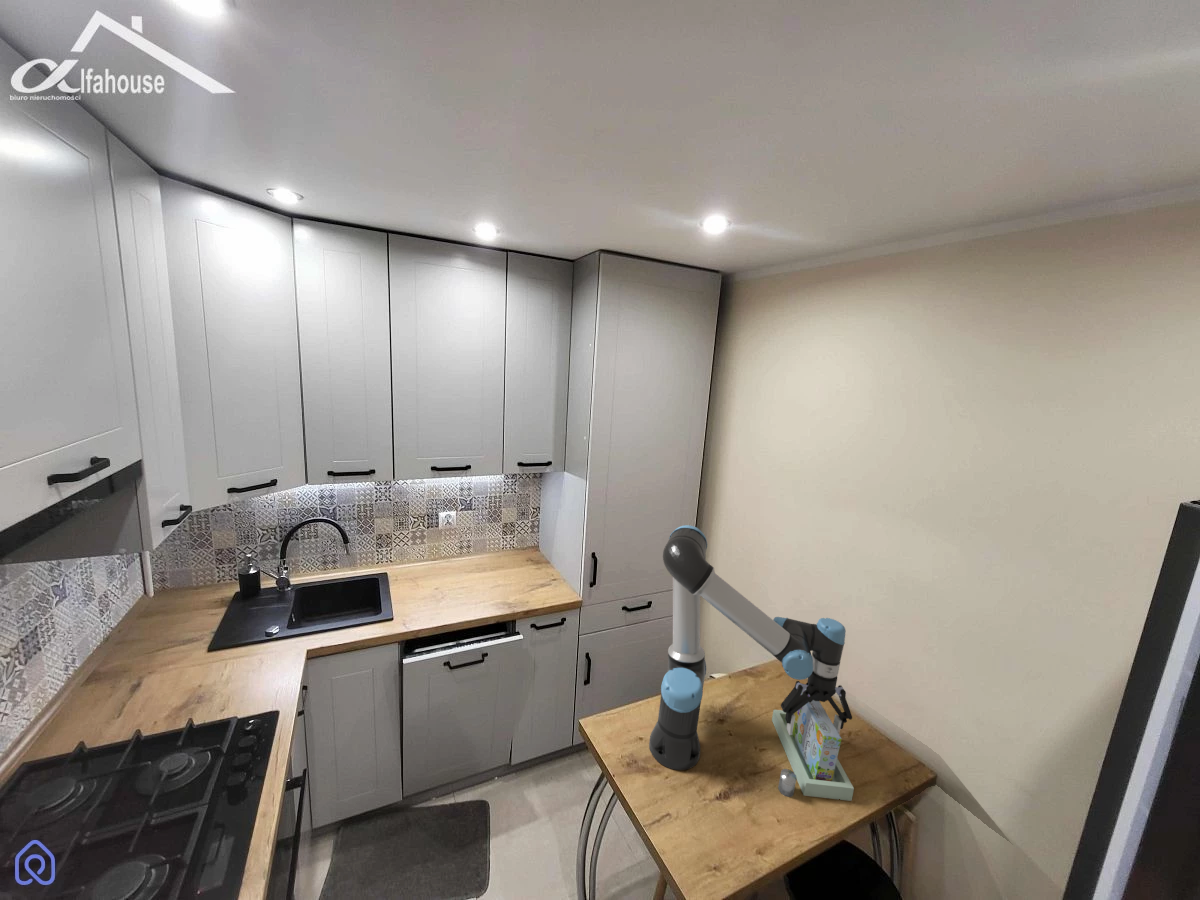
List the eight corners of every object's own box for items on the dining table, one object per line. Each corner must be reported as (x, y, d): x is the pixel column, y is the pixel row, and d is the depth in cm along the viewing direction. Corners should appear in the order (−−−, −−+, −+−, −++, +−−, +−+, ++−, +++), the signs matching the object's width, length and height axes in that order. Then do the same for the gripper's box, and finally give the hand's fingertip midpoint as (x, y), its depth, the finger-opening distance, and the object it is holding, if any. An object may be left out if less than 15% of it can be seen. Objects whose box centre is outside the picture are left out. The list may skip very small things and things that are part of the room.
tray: (803, 795, 128) (805, 783, 128) (771, 720, 156) (773, 709, 155) (851, 800, 128) (854, 788, 127) (811, 724, 155) (812, 713, 155)
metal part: (781, 796, 128) (783, 780, 127) (776, 783, 132) (778, 768, 131) (795, 797, 127) (798, 782, 127) (790, 784, 131) (793, 769, 131)
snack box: (833, 785, 131) (843, 738, 129) (813, 783, 131) (822, 736, 129) (804, 728, 152) (812, 687, 149) (787, 726, 152) (794, 685, 150)
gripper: (785, 674, 134) (774, 739, 137) (873, 684, 133) (859, 748, 136) (776, 658, 141) (766, 720, 145) (860, 667, 140) (847, 729, 144)
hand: (811, 734), depth 141 cm, fingers open, 13 cm apart
